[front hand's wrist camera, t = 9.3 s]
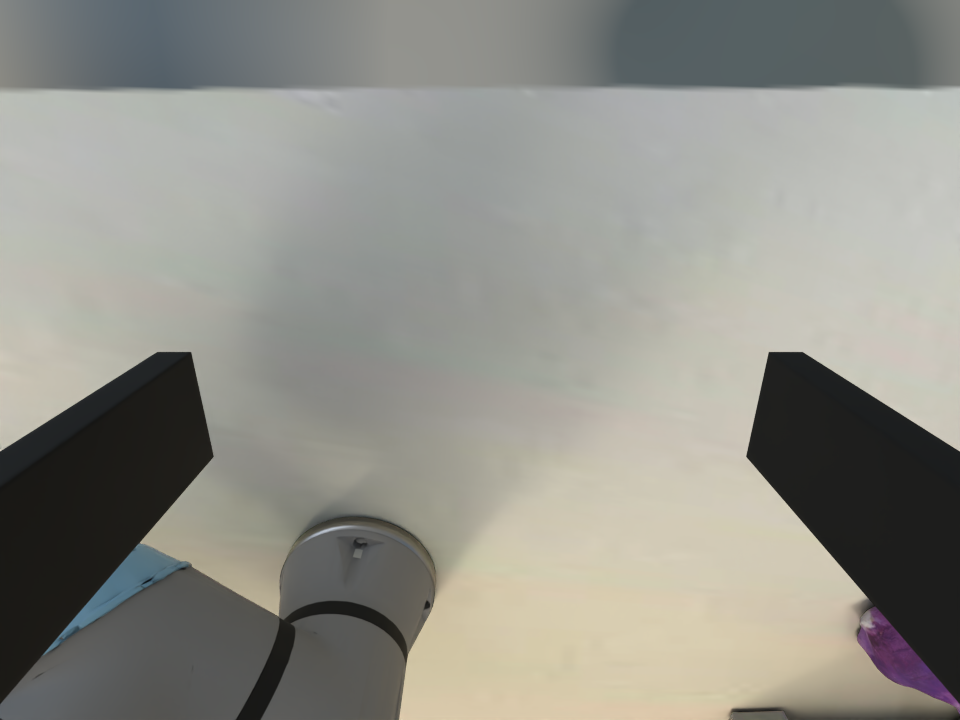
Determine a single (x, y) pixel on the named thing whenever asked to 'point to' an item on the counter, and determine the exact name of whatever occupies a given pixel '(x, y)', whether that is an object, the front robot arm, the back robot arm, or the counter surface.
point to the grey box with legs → (759, 715)
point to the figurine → (898, 657)
